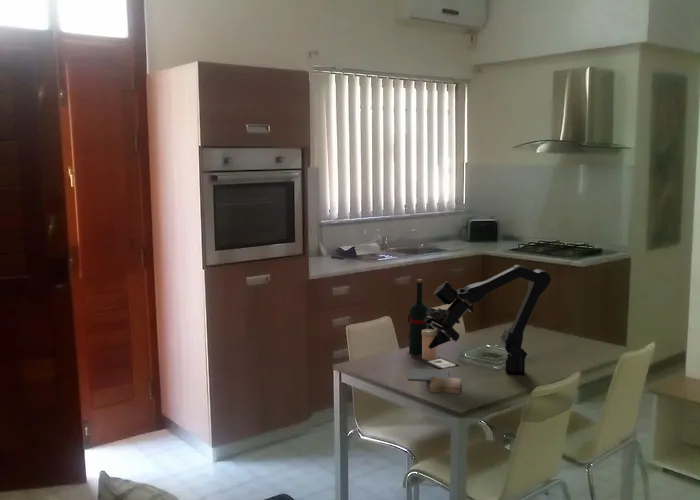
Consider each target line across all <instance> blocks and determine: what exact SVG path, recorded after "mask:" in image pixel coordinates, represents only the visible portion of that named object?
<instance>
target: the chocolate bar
mask: <svg viewBox="0 0 700 500" xmlns="http://www.w3.org/2000/svg"><path fill="white" fill-rule="evenodd" d="M411 358H412V359H415V360H417V361H419V362H422V363H424V364H426V365H429V366H430V367H433V368H436V370H445V369H448V368H454V367H458V366H459V364H458V363H456V362H453V361H451V360H449V359H446V358H444V357H442V356H439V355H437V359H435V360H425V359H422V354H419V355H414V354H413V355H411Z"/></svg>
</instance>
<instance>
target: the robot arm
mask: <svg viewBox="0 0 700 500" xmlns="http://www.w3.org/2000/svg"><path fill="white" fill-rule="evenodd" d="M518 278H522V279H524V280H527V281H528V282H527V283H528V285H527V292H526V293H525V294H526V295H525V296H524V299H523V301H522V303H521V305H520V308H519V310H518V312H517V313H516V316H515V319H514V321H513V323H512V325H511V327H509V328H508V329H507V328H505V327H504V330H503V333H502V335H501V336H500V337H499V338H500V339H501V341H500V344H501V346H502V348H503V349H504V350H505V351H506V353H507V354H506V357H505V359H504V371H506V374H507V375H519V376H520V375H524V376H525V375H526V370H525V369H526V358H527V356H528V353H527V351H526V350H524V348H522V345H523V340H524V331H525V329H526V327H527V325H528V322H529V320H530V318H531V315H532V314H533V311H534V309H535V308H536V307H535V306H536V305H537V303H538V300H539V297H540V296H541V295H543V293H544V292H545V291H546V290H547V288H548V287H549V286H550V284H551V282H552V278H551V275H550V274H549V273H548V272H547V271H545V270H543V269H540V268H537V269H531V268H528V267H525V266H522V265H519V264H515V265H513V266H512V267H510V268H508V269H506V270H504V271H502V272H500V273H498V274H497V275H494V276H491V277H490V278H488V279H485V280H483V281H479V282H474V283H472V284H467V285H466V286H465V287H463V288H458V289H455V288H454V287H453V286H452V285H451V284H450V283H449V281H445V282H443V283H442V284H440V285H438V286H437V287H436V288H435V290H434V292H433V296H434V297H436V298H437V299H438V300H439V301H440V302H441V303H442V304H443V305H445V306H447V305H449V306H448V307H447V309H445V308H444V309H442V308H440V307H438V309H436V308H434V307H431V306H428V310H427V313H426V315H429V316H426V317H425V318H424V321H425V322H426V325H427V329H434V330H437V335H436V336H435V338H434V339H433V341H432V342H431V343H430V345H429V348H430V349H432V348H434V347H436V346H437V347H438V346H440V345H443V344H445V343H449V342H451V341H453V342H455V343H457V342H458V340H459V339H460V336H461V335H460V333H458V331H457V330H456V329H455V328H454V326H455V325H456V324H458V325H459V324H460V323H461V321H460V319H462V317H463V316H464V315H465V313H467V311H468V312H469V313H474V304H478V303H479V302H480V301H481V300H482V299H484V298H485V297H486V296H487V295H488V294H490V293H491V292H493V291H495V290H496V289H499V288H500V287H502V286H504V285H507V284H509V283H511V282H512V281H514V280H516V279H518Z"/></svg>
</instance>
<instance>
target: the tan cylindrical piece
mask: <svg viewBox="0 0 700 500" xmlns="http://www.w3.org/2000/svg"><path fill="white" fill-rule="evenodd" d="M436 335H437V330H434V329H424V330H422V359H425V360H435V359H437V356H438V355H437V351H438V350H437V348H438V346H436V347H434V348H432V349H430V348H429V345H430V343H431V342H432V341H433V339H434V338H435V336H436Z"/></svg>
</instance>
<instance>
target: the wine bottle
mask: <svg viewBox="0 0 700 500" xmlns="http://www.w3.org/2000/svg"><path fill="white" fill-rule="evenodd" d="M428 308H429V306H427V304H426V303H425V302H423V279H421V278H418V279H416V302H414V303H412V304H411V307H410V308H409V313H408V314H407V322H408V324H409V328H408V329H409V333H408V336H407V339H409V341H408V353H409V354H411V355H413V356H414V355H419V354H422V330H424V329H427V325H426V322H425V321H424V318H425V317H426V316H429V315H426V313H427V310H428Z"/></svg>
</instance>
